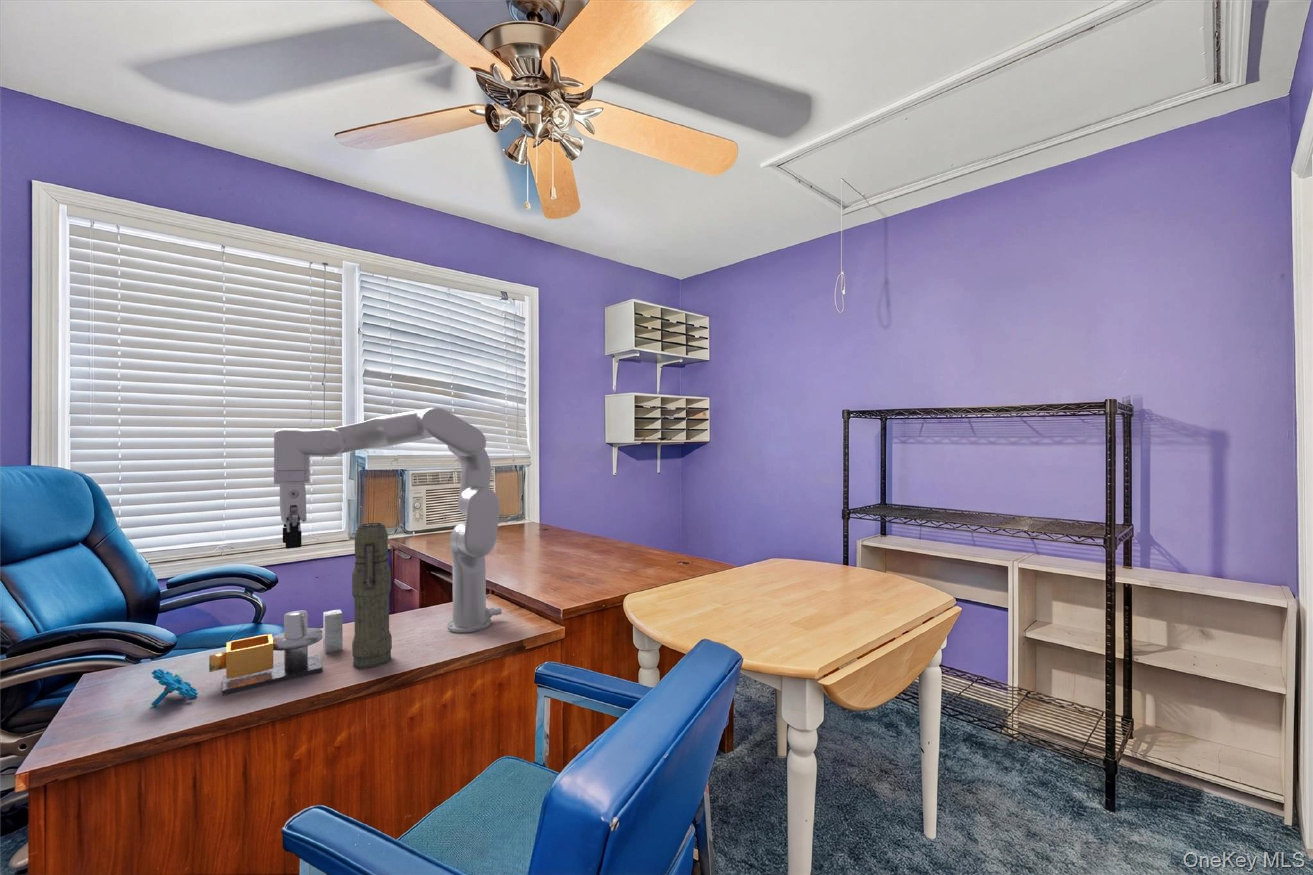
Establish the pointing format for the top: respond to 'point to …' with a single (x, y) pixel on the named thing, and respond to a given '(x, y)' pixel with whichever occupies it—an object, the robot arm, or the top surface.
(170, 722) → the top surface
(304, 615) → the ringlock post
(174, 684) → the blue splat shape
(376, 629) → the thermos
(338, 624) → the tall grey block
